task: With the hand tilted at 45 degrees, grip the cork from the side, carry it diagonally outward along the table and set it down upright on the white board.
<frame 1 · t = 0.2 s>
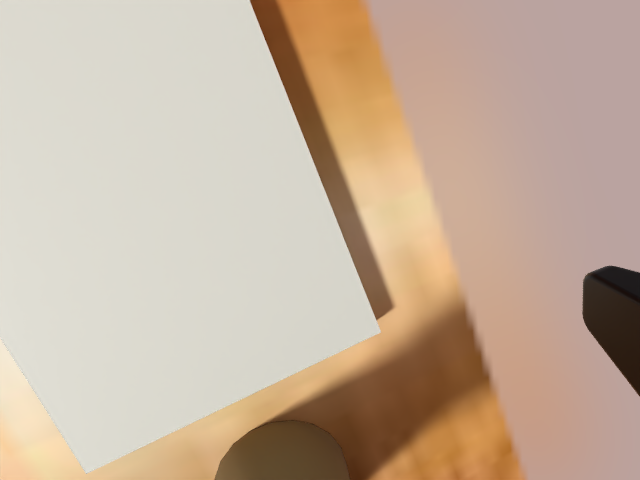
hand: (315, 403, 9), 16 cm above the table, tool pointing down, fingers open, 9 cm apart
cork: (281, 478, 27), on the table
white board: (138, 196, 23), on the table
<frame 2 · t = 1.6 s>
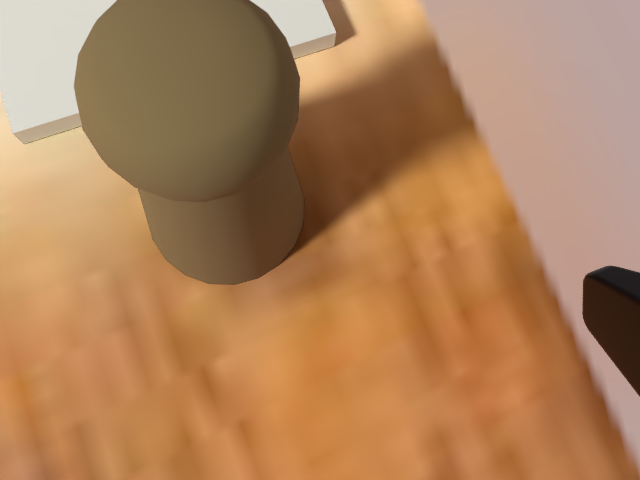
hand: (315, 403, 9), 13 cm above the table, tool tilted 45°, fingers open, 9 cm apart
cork: (227, 209, 24), on the table
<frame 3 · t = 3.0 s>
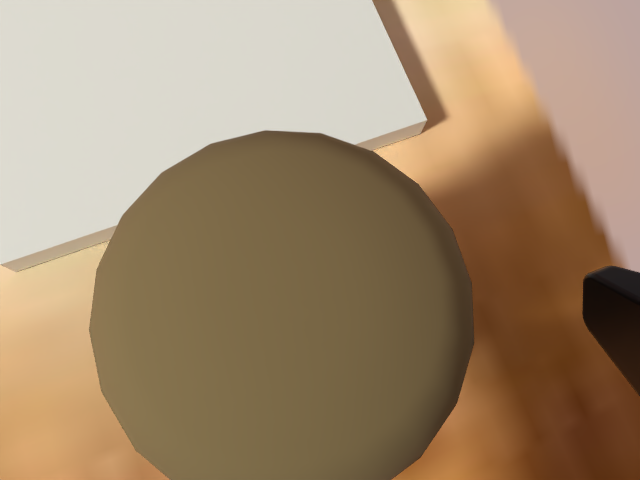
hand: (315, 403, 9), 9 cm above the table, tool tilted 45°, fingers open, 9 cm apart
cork: (286, 359, 18), on the table
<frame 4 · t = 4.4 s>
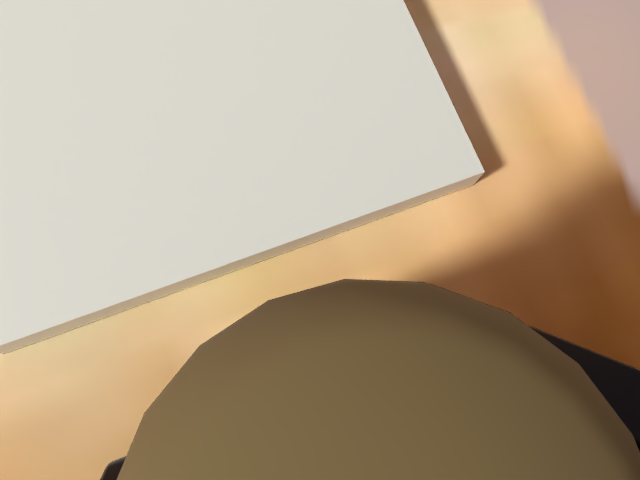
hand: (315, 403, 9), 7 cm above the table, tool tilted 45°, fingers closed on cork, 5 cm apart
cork: (322, 456, 15), on the table, touching gripper
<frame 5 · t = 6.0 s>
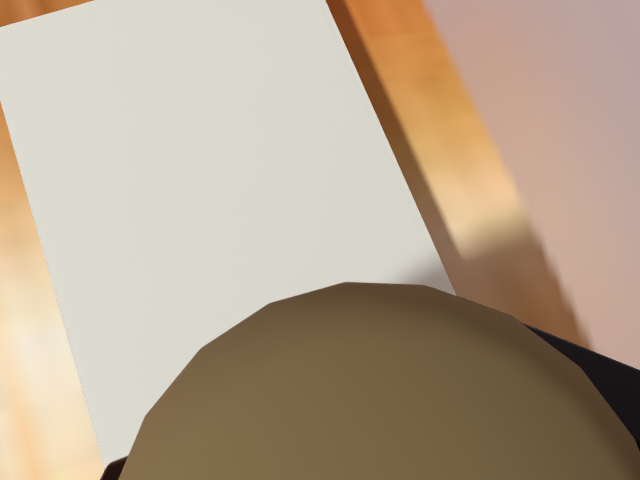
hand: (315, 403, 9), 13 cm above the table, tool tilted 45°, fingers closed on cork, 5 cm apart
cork: (322, 456, 15), point 6 cm above the table, touching gripper
white board: (222, 195, 23), on the table
when the fingers open (9 cm above the table, at t = 7.7 s): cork drops 1 cm, resting on white board.
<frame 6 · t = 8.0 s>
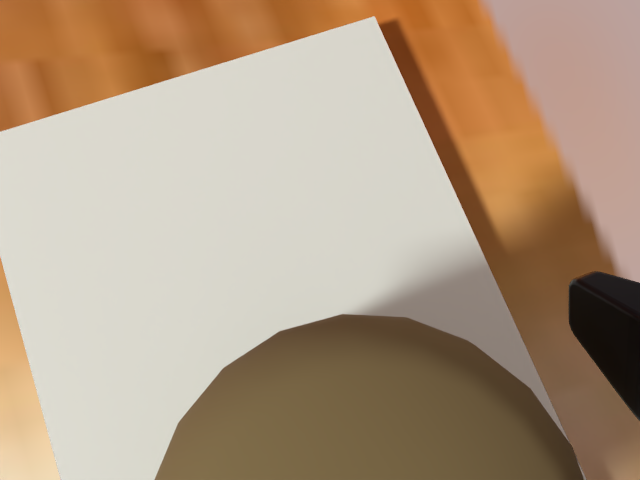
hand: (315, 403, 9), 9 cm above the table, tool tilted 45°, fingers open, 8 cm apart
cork: (320, 456, 16), point 1 cm above the table, touching white board
white board: (282, 353, 18), on the table
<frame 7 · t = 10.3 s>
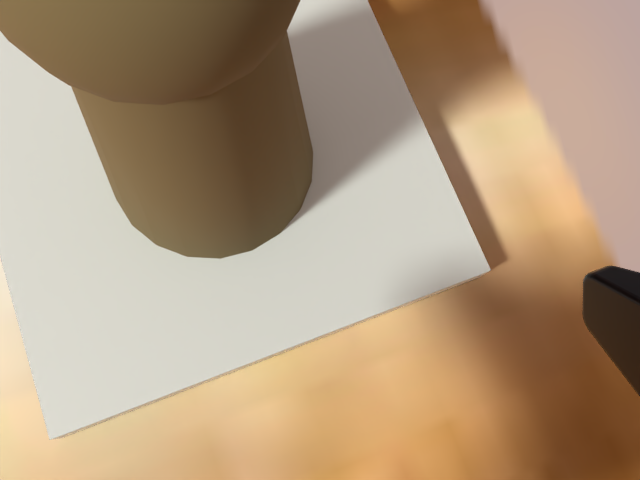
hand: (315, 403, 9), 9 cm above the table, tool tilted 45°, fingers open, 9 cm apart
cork: (213, 163, 18), point 1 cm above the table, touching white board
white board: (186, 90, 20), on the table
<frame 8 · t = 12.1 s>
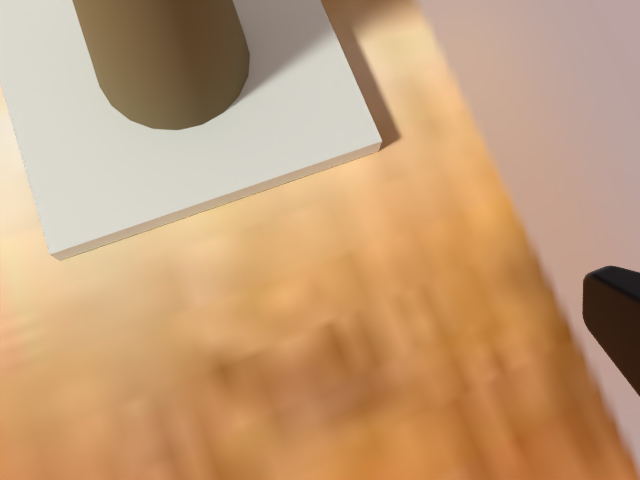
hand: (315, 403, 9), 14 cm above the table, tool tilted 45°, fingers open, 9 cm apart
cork: (174, 62, 24), point 1 cm above the table, touching white board
white board: (155, 12, 26), on the table
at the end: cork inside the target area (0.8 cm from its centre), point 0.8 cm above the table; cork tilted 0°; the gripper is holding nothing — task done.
